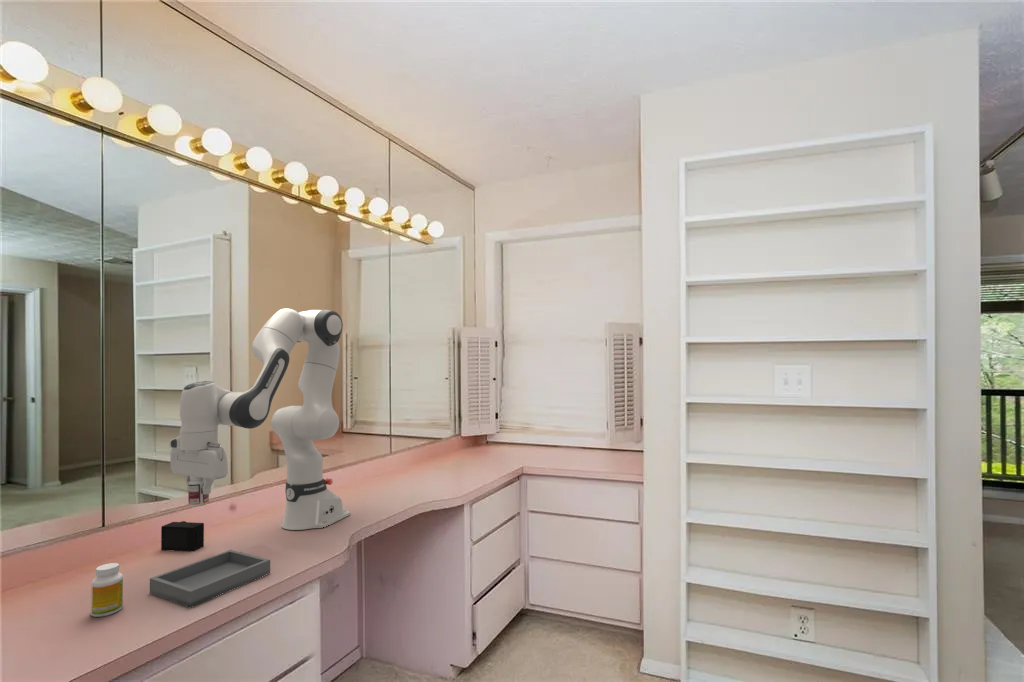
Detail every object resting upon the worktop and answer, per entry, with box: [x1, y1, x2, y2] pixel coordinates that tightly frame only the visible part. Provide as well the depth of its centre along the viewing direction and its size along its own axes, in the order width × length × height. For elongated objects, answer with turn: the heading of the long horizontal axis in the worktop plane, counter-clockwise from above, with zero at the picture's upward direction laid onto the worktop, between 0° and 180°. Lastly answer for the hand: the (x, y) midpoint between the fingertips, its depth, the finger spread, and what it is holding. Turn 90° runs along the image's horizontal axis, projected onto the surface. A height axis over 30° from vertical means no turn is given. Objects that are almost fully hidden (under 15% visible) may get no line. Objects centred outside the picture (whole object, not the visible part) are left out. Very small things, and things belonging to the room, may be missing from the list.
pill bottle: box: [187, 475, 210, 508], centre depth 138 cm, size 5×5×8 cm
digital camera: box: [160, 520, 205, 552], centre depth 149 cm, size 10×5×7 cm, turn 82°
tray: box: [149, 549, 271, 608], centre depth 125 cm, size 20×16×4 cm
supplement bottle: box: [90, 562, 124, 618], centre depth 111 cm, size 5×5×10 cm
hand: (198, 492), depth 138 cm, fingers closed on pill bottle, 5 cm apart
